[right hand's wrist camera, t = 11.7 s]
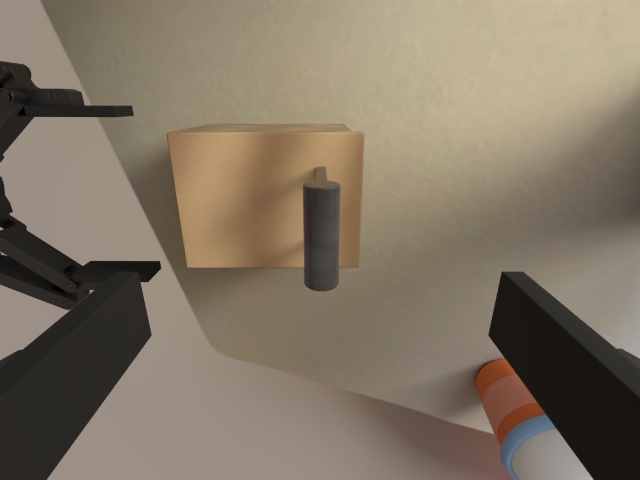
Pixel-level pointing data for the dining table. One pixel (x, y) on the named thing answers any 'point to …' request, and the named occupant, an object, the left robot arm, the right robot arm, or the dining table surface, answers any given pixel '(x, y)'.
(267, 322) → the dining table surface
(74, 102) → the left robot arm
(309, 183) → the lid
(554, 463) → the cup with straw
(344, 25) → the dining table surface
